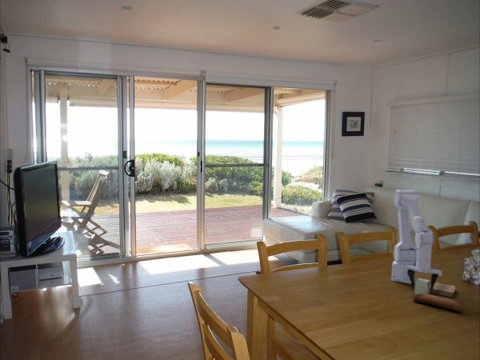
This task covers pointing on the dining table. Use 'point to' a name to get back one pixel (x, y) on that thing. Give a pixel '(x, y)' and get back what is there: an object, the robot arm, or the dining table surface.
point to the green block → (421, 286)
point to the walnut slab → (442, 289)
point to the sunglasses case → (438, 302)
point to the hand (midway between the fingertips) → (422, 288)
